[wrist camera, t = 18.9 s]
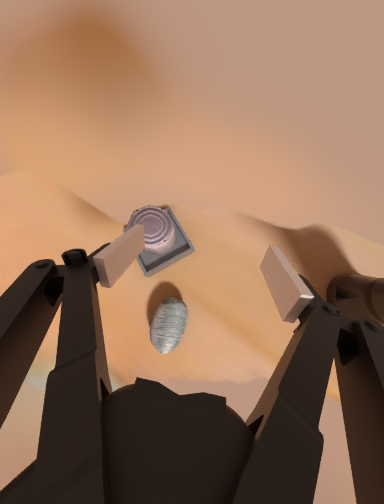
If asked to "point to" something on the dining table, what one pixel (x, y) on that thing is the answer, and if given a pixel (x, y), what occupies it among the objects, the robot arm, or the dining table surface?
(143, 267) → the tray
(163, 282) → the dining table surface
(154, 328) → the spool
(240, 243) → the dining table surface
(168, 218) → the can
